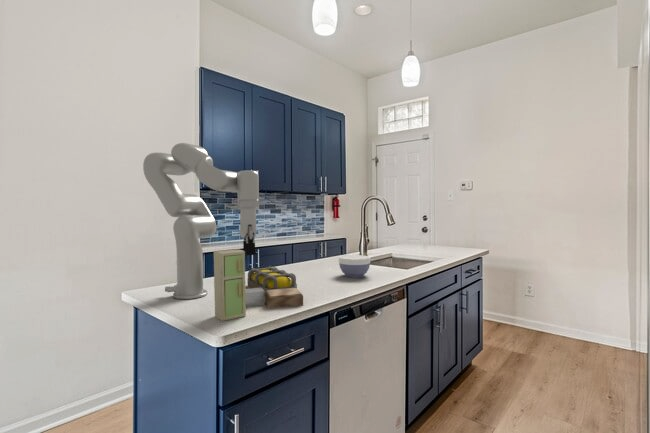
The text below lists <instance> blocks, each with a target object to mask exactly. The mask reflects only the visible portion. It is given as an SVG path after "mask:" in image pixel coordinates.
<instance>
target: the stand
mask: <svg viewBox="0 0 650 433" xmlns="http://www.w3.org/2000/svg"><path fill="white" fill-rule="evenodd" d="M265 303H266V305H267V306H268V309H275V308H284V307H285V308H286V307H295V306H298V307H299V306H304V294H302V292H301V291H300V290H298V287H297V288H288V289H275V290H266V292H265Z"/></svg>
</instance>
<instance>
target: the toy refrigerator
mask: <svg viewBox="0 0 650 433" xmlns="http://www.w3.org/2000/svg"><path fill="white" fill-rule="evenodd" d="M245 255H246V252H245V251H243V249H238V248H232V249H221V250H213V277H214V281H213V282H214V283H213V284H214V286H213V287H214V315H215V317H216V318H217V319H218V320H220V321H221V322H224V321H225V322H226V321H229V320H234V319H238V318H243V317H246V316H247V315H246V314H247V313H246V312H247V310H246V309H247V307H246V304H245V289H246V262H245V261H246V260H245V259H246V256H245Z"/></svg>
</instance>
